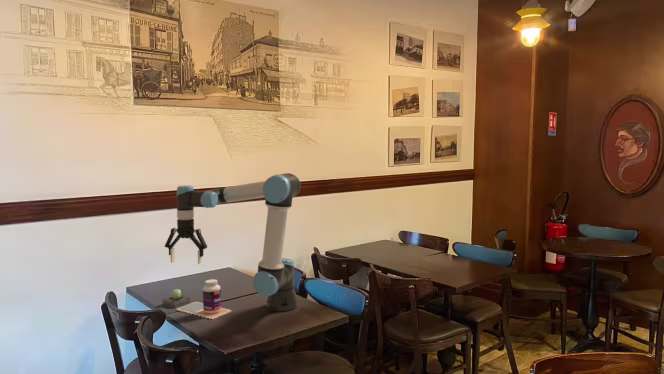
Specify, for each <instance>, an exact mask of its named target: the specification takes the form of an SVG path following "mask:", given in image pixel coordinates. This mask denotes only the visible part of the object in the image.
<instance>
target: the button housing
mask: <svg viewBox="0 0 664 374" xmlns="http://www.w3.org/2000/svg"><path fill="white" fill-rule="evenodd" d="M188 304H191V297H190V296H189V295H183V294H181V299H178V300H172V297H171V295H170V296H167V297H165V298H162V305H163V306H165V307H169V308H173V309H177V308H180V307H183V306H185V305H188Z"/></svg>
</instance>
